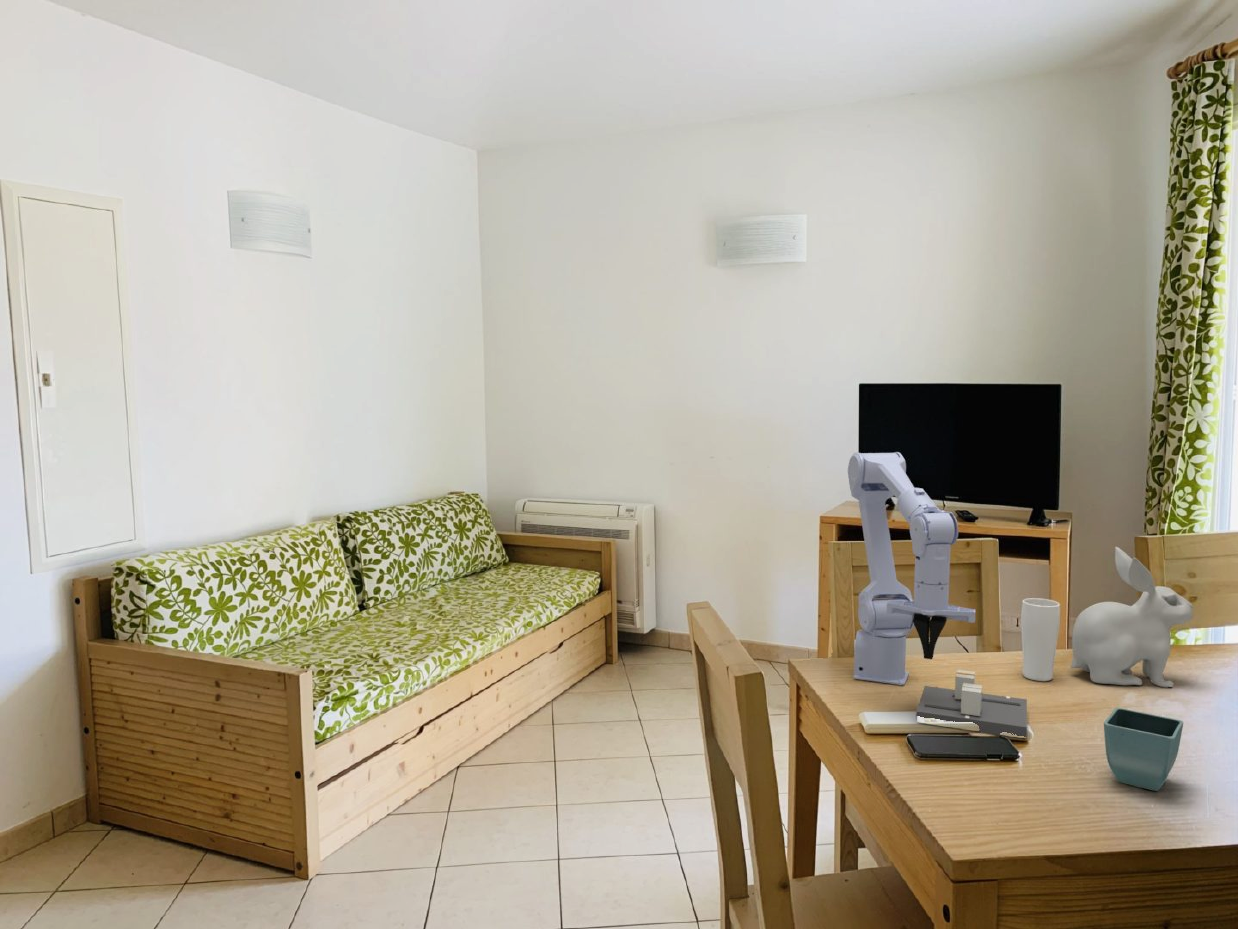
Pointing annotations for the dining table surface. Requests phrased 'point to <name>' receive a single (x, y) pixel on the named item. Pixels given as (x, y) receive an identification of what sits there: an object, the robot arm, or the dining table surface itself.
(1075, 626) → the rabbit
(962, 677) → the far fader knob
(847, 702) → the dining table surface
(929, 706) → the panel
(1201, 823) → the dining table surface
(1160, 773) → the flower pot
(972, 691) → the near fader knob
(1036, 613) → the drinking glass
